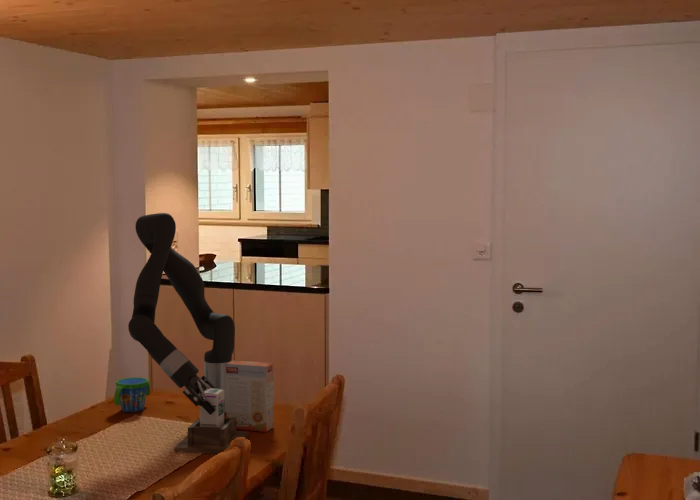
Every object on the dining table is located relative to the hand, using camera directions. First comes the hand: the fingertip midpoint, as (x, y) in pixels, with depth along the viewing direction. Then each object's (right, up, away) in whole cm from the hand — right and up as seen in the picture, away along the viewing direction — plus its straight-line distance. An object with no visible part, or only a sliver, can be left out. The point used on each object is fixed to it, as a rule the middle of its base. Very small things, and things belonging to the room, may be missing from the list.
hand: (217, 408), depth 221 cm
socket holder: (-2, -10, +1) cm, 11 cm away
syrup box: (-2, -9, +1) cm, 10 cm away
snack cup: (-35, -8, +35) cm, 50 cm away
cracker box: (+8, -10, +16) cm, 20 cm away
